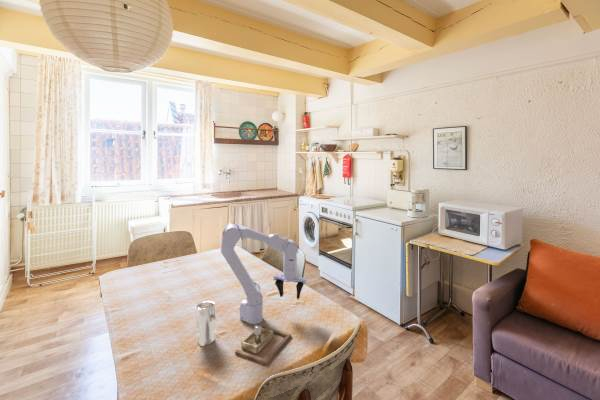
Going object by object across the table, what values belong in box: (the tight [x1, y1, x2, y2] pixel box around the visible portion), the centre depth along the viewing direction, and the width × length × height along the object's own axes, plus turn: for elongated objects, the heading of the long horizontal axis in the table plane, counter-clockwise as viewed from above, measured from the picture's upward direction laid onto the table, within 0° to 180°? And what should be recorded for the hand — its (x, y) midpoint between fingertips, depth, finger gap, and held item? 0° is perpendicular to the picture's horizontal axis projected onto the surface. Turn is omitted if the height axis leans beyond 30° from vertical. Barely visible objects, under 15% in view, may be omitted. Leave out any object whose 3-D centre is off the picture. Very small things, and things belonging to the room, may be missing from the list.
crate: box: [240, 324, 274, 355], centre depth 111 cm, size 7×11×6 cm, turn 154°
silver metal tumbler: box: [195, 300, 217, 347], centre depth 112 cm, size 7×7×15 cm
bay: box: [234, 325, 292, 366], centre depth 110 cm, size 13×18×2 cm
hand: (289, 297), depth 130 cm, fingers open, 7 cm apart
